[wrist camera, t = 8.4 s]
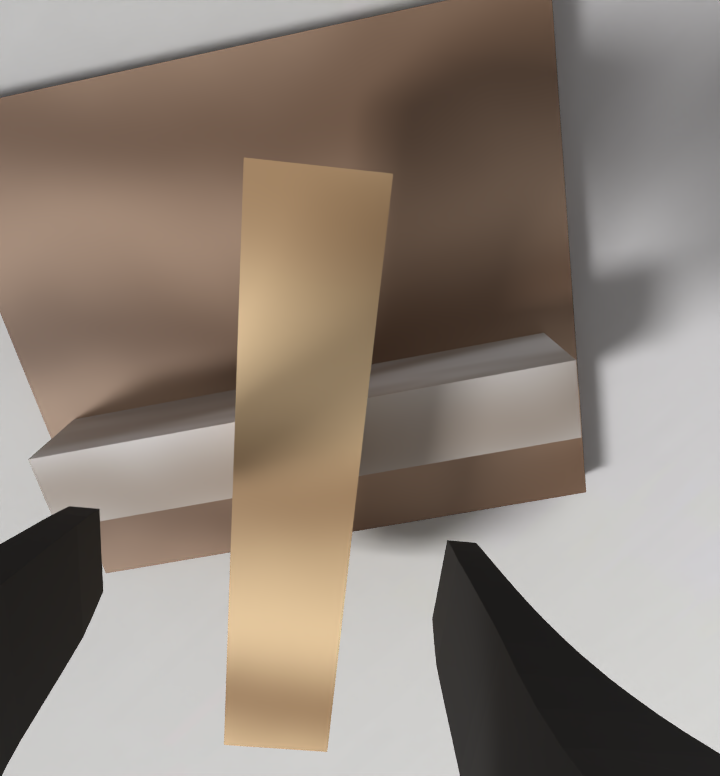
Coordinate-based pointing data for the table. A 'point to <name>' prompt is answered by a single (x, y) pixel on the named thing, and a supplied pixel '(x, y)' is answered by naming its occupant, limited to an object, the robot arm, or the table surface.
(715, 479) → the table surface
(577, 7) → the table surface
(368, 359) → the oak bar
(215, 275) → the stand
